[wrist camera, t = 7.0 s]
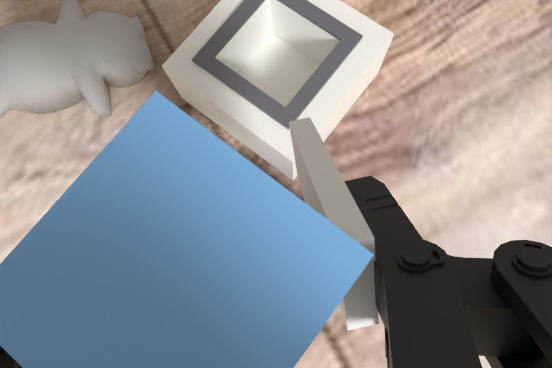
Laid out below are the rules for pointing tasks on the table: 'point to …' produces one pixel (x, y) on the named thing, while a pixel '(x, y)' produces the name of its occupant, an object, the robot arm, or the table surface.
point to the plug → (173, 260)
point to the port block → (277, 69)
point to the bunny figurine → (70, 60)
